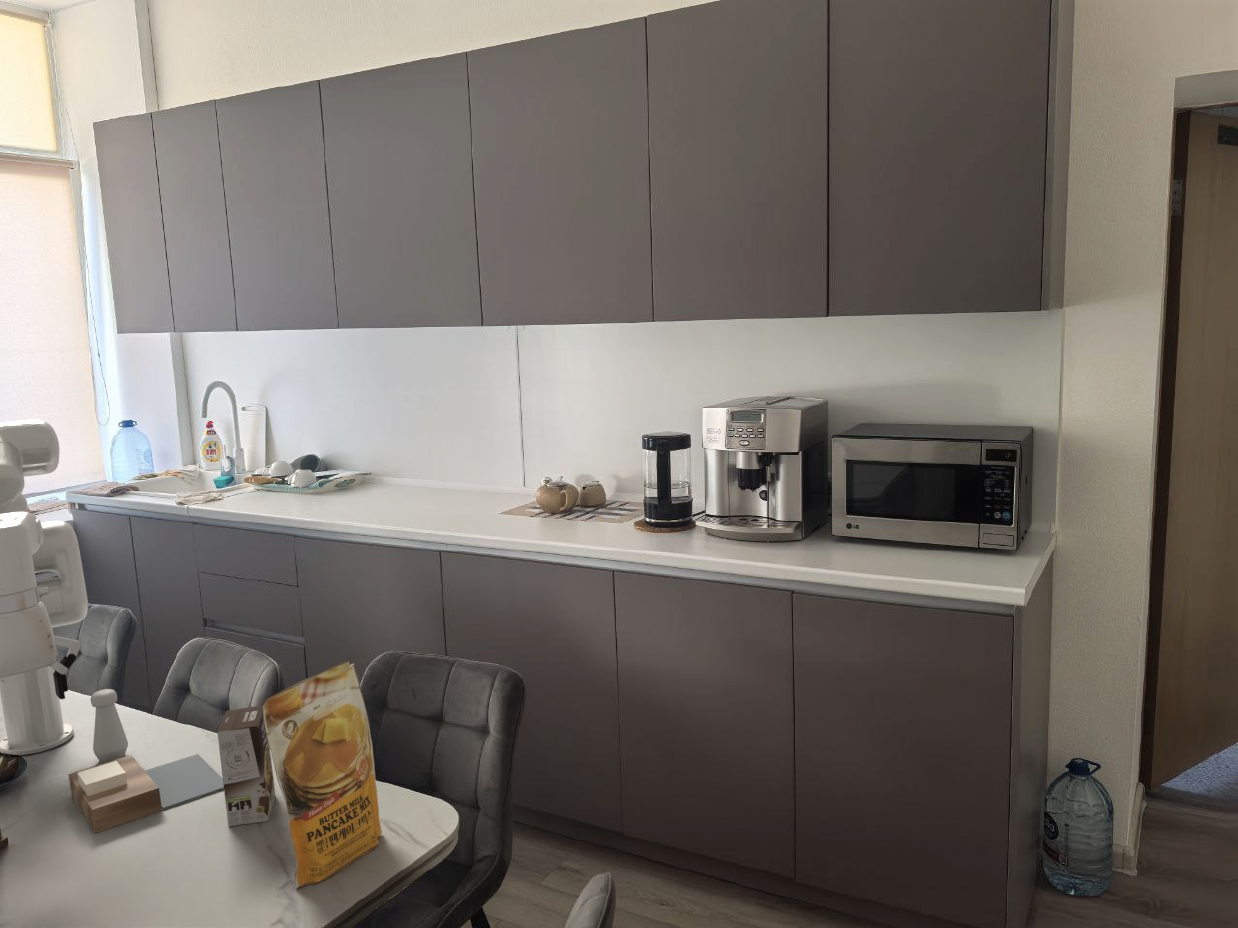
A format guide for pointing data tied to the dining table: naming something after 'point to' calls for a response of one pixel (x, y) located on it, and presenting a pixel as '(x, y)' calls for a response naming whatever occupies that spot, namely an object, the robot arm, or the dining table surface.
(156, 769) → the mat
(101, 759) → the salt shaker
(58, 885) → the dining table surface
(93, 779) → the cream square block
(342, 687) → the pancake mix bag
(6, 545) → the robot arm
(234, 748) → the coffee box
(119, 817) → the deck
